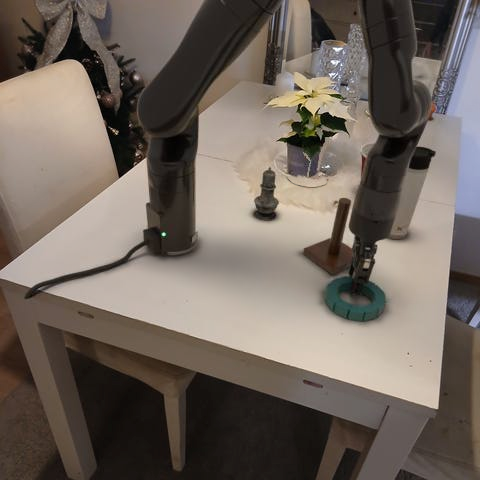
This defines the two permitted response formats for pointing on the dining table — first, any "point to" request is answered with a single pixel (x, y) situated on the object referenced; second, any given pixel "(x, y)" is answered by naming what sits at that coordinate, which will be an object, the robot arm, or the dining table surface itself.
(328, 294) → the ring
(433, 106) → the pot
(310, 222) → the dining table surface
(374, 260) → the robot arm
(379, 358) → the dining table surface
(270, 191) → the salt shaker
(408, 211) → the travel mug
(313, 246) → the post
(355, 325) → the dining table surface
